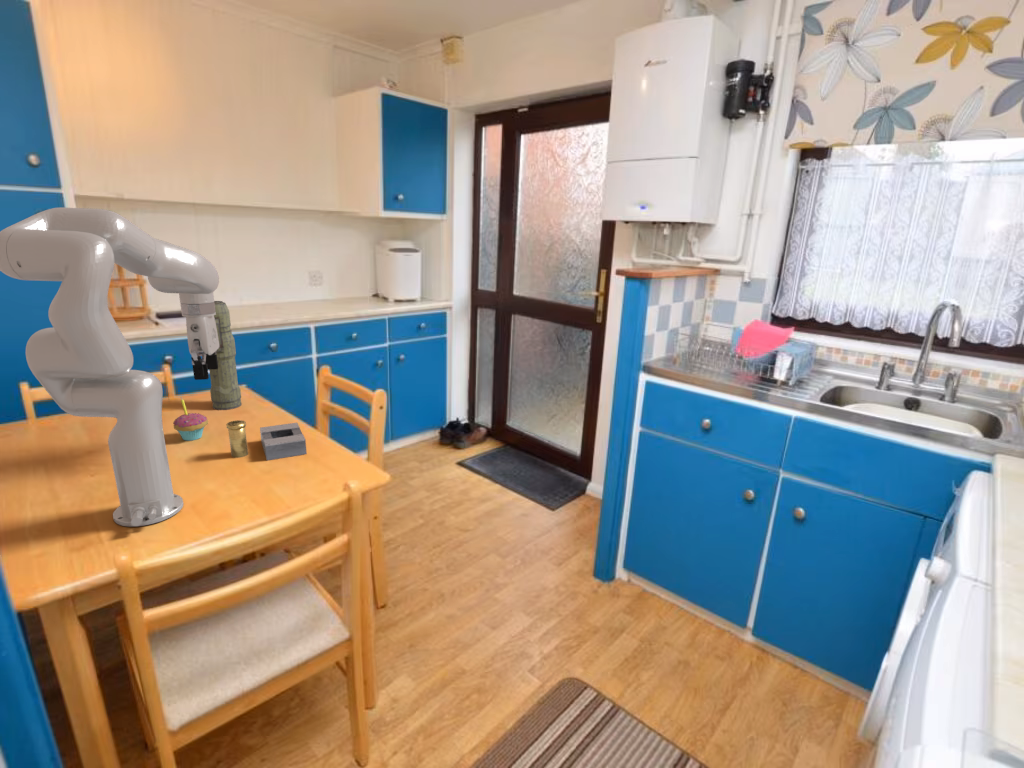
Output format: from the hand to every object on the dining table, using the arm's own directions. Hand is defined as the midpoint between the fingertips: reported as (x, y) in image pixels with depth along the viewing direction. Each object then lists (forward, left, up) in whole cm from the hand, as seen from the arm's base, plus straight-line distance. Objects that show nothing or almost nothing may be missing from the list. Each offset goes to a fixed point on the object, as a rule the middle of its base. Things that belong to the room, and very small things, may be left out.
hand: (206, 374), depth 141 cm
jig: (-6, -16, -22) cm, 28 cm away
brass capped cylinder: (-6, -5, -22) cm, 23 cm away
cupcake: (+12, +6, -22) cm, 25 cm away
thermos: (+38, -4, -22) cm, 44 cm away
